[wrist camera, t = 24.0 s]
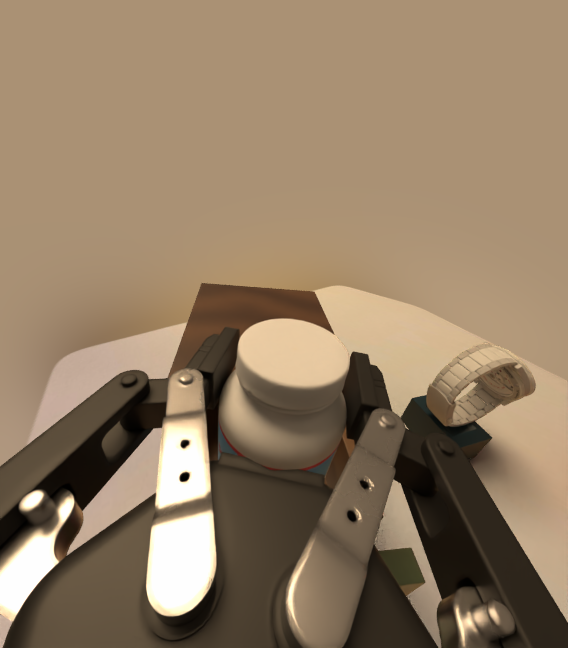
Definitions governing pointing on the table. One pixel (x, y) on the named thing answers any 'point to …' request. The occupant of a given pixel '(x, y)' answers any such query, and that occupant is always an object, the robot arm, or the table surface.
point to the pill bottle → (285, 397)
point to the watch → (469, 396)
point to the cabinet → (243, 313)
